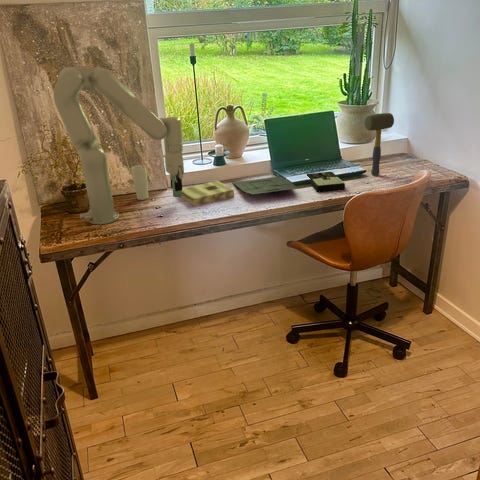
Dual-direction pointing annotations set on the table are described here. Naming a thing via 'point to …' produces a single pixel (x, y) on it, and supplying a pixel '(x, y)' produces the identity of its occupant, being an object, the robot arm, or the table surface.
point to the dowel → (175, 193)
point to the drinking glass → (140, 181)
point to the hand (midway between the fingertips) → (176, 188)
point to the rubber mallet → (378, 135)
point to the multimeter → (326, 182)
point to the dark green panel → (264, 185)
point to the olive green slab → (206, 193)
